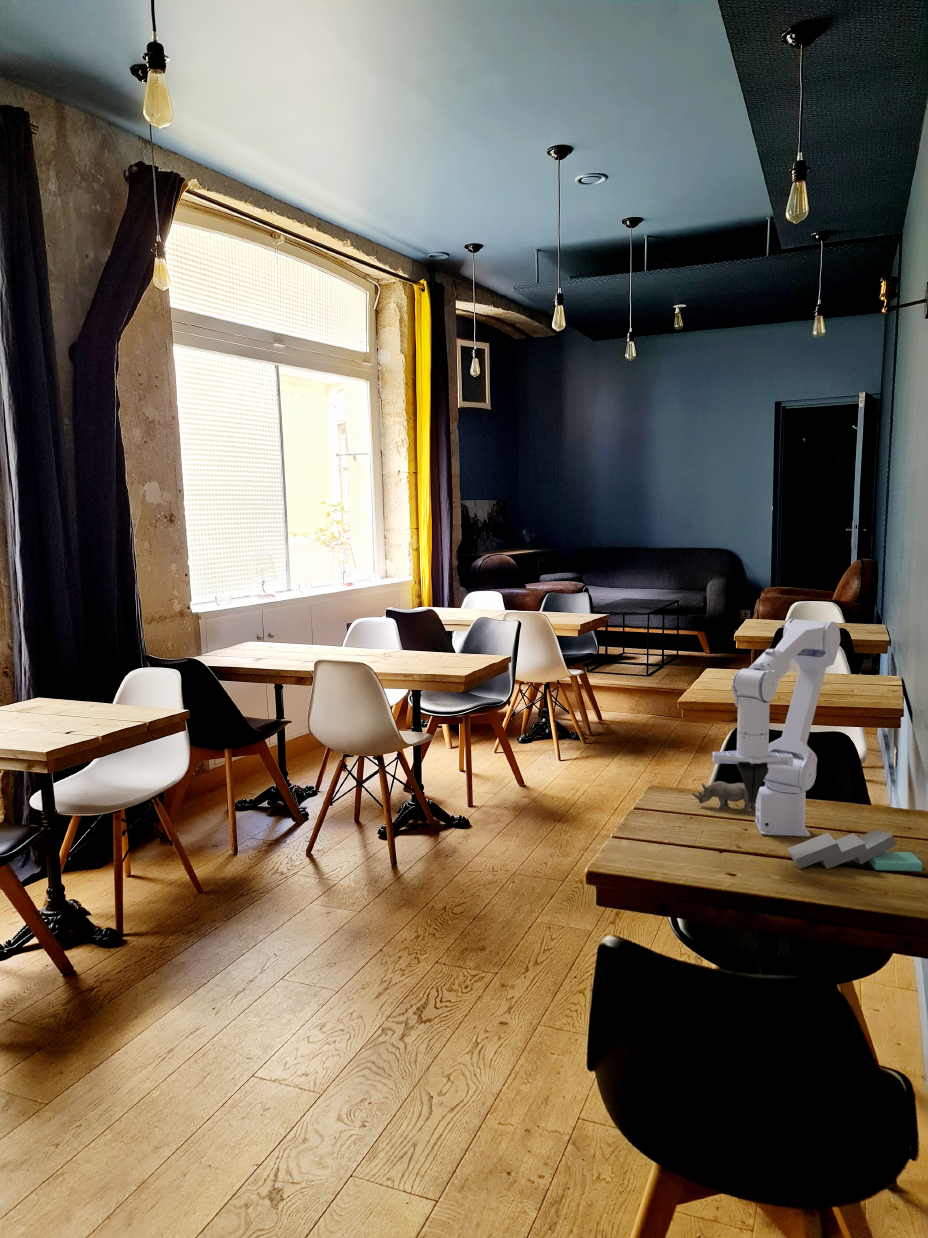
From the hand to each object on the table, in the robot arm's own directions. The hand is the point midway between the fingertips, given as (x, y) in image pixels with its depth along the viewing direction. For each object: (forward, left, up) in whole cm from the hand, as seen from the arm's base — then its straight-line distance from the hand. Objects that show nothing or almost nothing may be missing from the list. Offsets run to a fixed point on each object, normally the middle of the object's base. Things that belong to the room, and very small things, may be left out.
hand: (751, 800), depth 164 cm
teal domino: (+21, -4, -10) cm, 23 cm away
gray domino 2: (+12, -5, -9) cm, 16 cm away
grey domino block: (+17, -4, -9) cm, 20 cm away
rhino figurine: (-2, +24, -10) cm, 26 cm away
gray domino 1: (+7, -6, -9) cm, 13 cm away
